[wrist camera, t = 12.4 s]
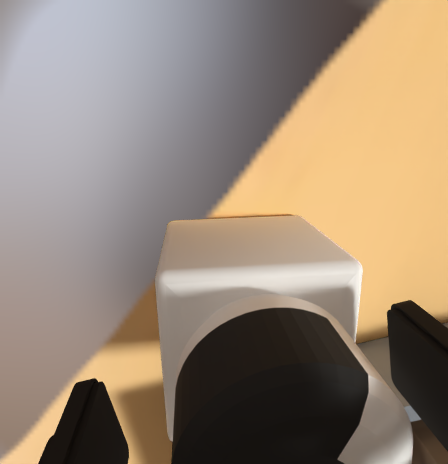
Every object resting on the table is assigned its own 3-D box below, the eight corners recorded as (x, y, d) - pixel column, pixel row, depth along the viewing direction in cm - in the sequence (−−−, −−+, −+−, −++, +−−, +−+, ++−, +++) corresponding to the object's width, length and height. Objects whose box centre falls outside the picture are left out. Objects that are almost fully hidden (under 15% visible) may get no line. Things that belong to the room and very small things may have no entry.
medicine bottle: (174, 339, 20) (155, 623, 9) (166, 218, 18) (126, 377, 6) (296, 331, 21) (431, 584, 9) (302, 213, 19) (484, 349, 7)
